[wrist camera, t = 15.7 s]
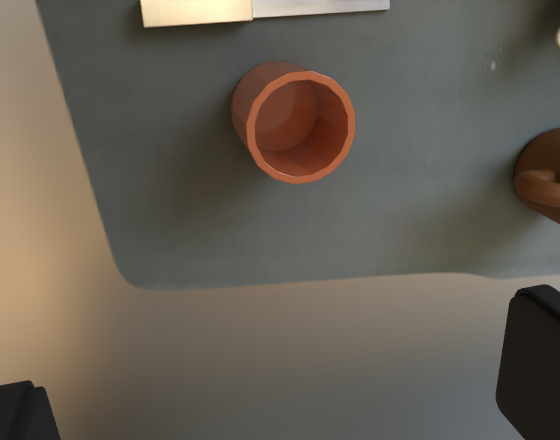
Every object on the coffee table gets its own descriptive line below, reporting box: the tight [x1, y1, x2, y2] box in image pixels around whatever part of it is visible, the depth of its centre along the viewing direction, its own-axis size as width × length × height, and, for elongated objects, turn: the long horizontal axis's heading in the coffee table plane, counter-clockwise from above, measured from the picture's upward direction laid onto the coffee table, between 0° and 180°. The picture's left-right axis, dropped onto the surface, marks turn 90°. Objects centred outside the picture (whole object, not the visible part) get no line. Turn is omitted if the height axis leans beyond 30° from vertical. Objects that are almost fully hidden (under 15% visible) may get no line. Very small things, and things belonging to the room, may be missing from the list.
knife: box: [140, 0, 390, 28], centre depth 33 cm, size 17×2×1 cm, turn 93°
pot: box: [230, 61, 355, 184], centre depth 33 cm, size 7×7×7 cm
